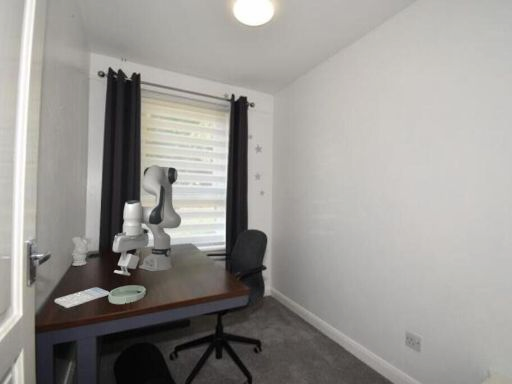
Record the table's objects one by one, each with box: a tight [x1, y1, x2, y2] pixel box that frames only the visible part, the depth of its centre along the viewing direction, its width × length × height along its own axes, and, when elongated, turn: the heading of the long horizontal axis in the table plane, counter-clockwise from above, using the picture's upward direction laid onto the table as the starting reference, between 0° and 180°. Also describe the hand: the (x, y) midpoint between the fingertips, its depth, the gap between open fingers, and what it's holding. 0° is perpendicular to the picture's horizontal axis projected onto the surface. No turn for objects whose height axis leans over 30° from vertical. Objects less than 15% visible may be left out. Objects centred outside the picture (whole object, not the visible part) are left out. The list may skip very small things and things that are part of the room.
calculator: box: [54, 287, 110, 309], centre depth 128 cm, size 13×20×2 cm, turn 150°
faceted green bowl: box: [107, 284, 147, 305], centre depth 130 cm, size 17×17×3 cm
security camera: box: [113, 253, 140, 277], centre depth 129 cm, size 6×7×10 cm
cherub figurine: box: [71, 234, 92, 267], centre depth 187 cm, size 12×12×22 cm
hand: (131, 257), depth 131 cm, fingers closed on security camera, 6 cm apart
